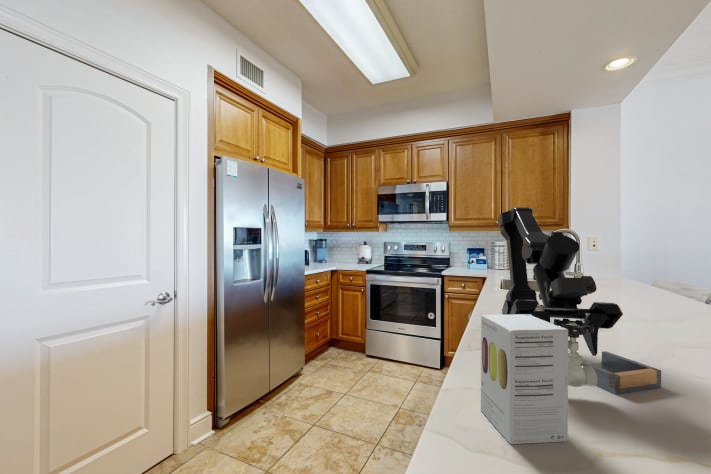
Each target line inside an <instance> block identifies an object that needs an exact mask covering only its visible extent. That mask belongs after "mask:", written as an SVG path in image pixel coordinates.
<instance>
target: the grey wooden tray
mask: <svg viewBox="0 0 711 474" xmlns="http://www.w3.org/2000/svg"><path fill="white" fill-rule="evenodd" d="M580 366H592V367H593V368H594V370H595V372H596V375H597V385H596V386H595V387H598V388H601V389H603V390H605V391H607V392H609V393H611V394H613V395H621V394H629V393H634V392H640V391H649V390H654V389H661V388H662V370H661V369H659V368H656V367H653V366H650V365H647V364H644V363H642V362H638V361H635V360H632V359H629V358H627V357H624V356H621V355H618V354H615V353H612V352H609V351H606V350H603V351H601V362H593V363H592V362H591V363H589V362H587V361H585V360H583V362H582V364H580Z"/></svg>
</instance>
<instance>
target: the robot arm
mask: <svg viewBox="0 0 711 474" xmlns="http://www.w3.org/2000/svg"><path fill="white" fill-rule="evenodd" d="M533 212H534V211H533V209H532V208H531V207H529V206H527V207H524V206H522V207H514V208H511V209H510V210H506V211H504V212H501V213H499V216H498V218H497V226H498V227H499V230H500V235H501V236H502V238H503V239H505V240H506V244H507V256H508V257H507V259H508V268H509V270H508V271H509V279H510V287H509V289H508V292H507V293H506V295H505V300H504V303H503V306H502V308H501V315H513V314H530V315H532V316H534V317H536V318H539V319H541V320H544V321H547V322H549V323H551V318H553V319H564V318H566V319H575V320H581V321H583V323H591V324H593V327H594V332H593V333H590V332H588V330H586V333H585V334H583V335H582V337H583V340H584V341H585V344H586V346H587V348H588V351H589V352H590V354H591V355H592V356H593V357H596V356H597V355H598V342H599V341H598V340H599V337H598V336H599V329H612V328H613V327H614V326H615V325H616V323H617V322H618V321H619V320H620V319H621V318H622V316H624V314H623V313H624V312H623V311H622V309H621V307H620V306H619V305H618V304H617V303H615V302H603V301H602V302H599V301H597V302H596V301H593V303H592V304H591V306H590V307H589V308H579V307H578V305H579V306H580V305H581V303H582V302H583V300H582V298H583V297H584V296H588V295H591V294H594V293H595V292H596V291H597V283H596V281H595V280H594V278H593V276H591V275H582V276H580V277H568V276H567V277H566V275H565V273H564V272H565V271H568V270H569V269H570V268H571V265H572V263H573V262H574V260H575V257H576V256H577V254H578V252H579V250H580V244H579V242H577V241H576V240H575V239H573V238H572V237H570V236H568V235H564V233H563V231H552V232H551V233H550V235H548V234H546V233H544V232H543V231H542V228H541V227H540V224H539V223H538V221H537V220H536V218H535V217H534V214H533ZM527 264H528V265H534V267H533V269H532V273H533V276H532V280H533V281H535V282H536V286H537V288H538V292H539V294H538V299H539V300H541V301H542V304H540V303H539V301H538V299H537V292H536V290H535V289H532V288H531V286H530V285H529V278H528V271H527V270H528V269H527Z"/></svg>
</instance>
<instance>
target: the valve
mask: <svg viewBox="0 0 711 474" xmlns="http://www.w3.org/2000/svg"><path fill="white" fill-rule="evenodd" d="M552 324H554V325H557V326H559V327H562V328H566V329H568V338H569V339H568V387H569V386H570V387H573V388H581V387H582V386H584V387H585V386H586V387H597V386H596V385H597V375H596V372H595V370H594V368H593V367H592V366H580V364H582V362H583V361H584V360H583V356H582V355H580V354H579V352H577V351H579V342H578V341H577V339H579V338H580V336H583V334H585V333H586V330H588V332H590V333H593V332H594V327H593V324H591V323H583V321H581V319H575V320H570V318H562V320H561V319H560V318H553V323H552Z"/></svg>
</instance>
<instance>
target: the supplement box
mask: <svg viewBox="0 0 711 474" xmlns="http://www.w3.org/2000/svg"><path fill="white" fill-rule="evenodd" d="M480 324H481V325H480V327H481V328H480V331H481V332H480V335H481V336H480V342H481V343H480V411H481V412H482V413H483V415H484V416H486V418H487V419H488V420H489V422H490V423H491V424H492V425H493V426H494V428H496V429H497V431H498V433H500V434H501V435H502V436H503V438H504V439H505V440H506V441H507V442H508V443H509V444H510V445H521V444H522V445H524V444H525V445H526V444H542V443H545V444H546V443H563V442H568V439H569V438H568V435H569V433H568V431H569V428H568V427H569V426H568V425H569V424H568V422H569V420H568V419H569V418H568V417H569V415H568V412H569V404H568V403H569V399H568V398H569V389H568V388H569V385H568V351H569V349H568V340H569V337H568V329H566V328H562V327H561V326H557V325H554V324H553V323H549V322H547V321H544V320H541V319H539V318H536V317H534V316H532V315H530V314H513V315H510V314H509V315H502V314H483V315H482V314H481V316H480Z"/></svg>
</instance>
